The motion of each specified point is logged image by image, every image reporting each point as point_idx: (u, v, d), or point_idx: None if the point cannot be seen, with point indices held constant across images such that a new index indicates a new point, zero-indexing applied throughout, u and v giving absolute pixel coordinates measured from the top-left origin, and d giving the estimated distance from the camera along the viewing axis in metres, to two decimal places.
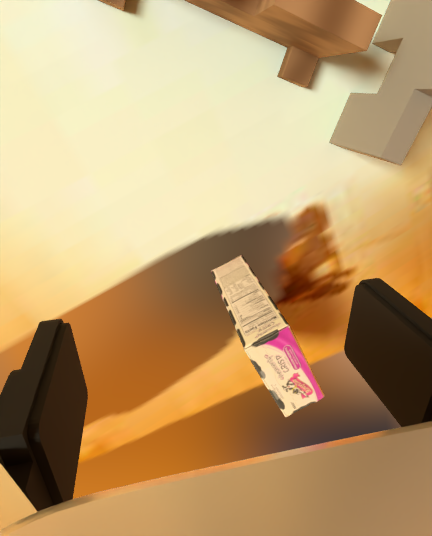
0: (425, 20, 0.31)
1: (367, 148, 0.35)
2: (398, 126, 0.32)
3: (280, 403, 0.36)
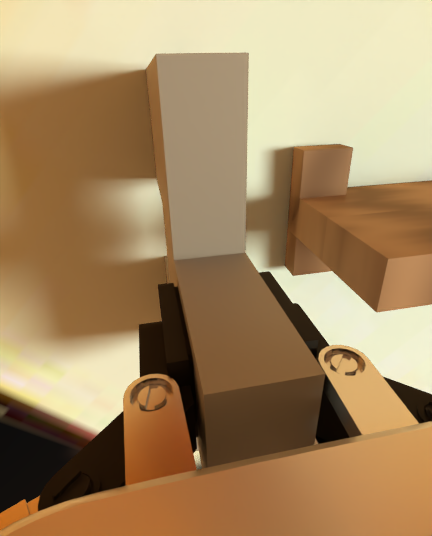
0: None
1: None
2: (239, 161, 0.11)
3: None
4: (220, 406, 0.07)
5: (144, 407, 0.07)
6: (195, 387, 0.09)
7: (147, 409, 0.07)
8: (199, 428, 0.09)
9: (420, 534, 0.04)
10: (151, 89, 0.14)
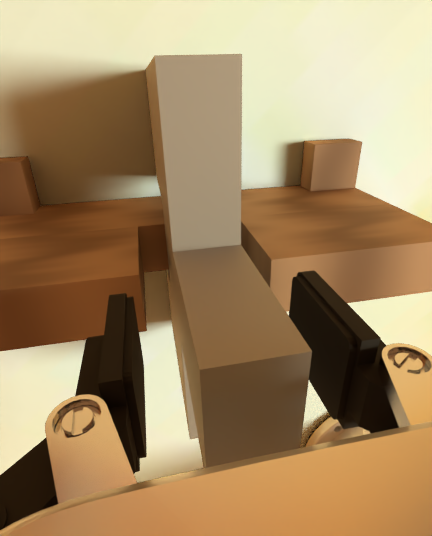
0: None
1: None
2: (233, 156, 0.12)
3: None
4: (215, 381, 0.08)
5: (70, 433, 0.07)
6: (192, 368, 0.09)
7: (74, 435, 0.07)
8: (196, 407, 0.10)
9: (420, 534, 0.04)
10: (150, 89, 0.15)
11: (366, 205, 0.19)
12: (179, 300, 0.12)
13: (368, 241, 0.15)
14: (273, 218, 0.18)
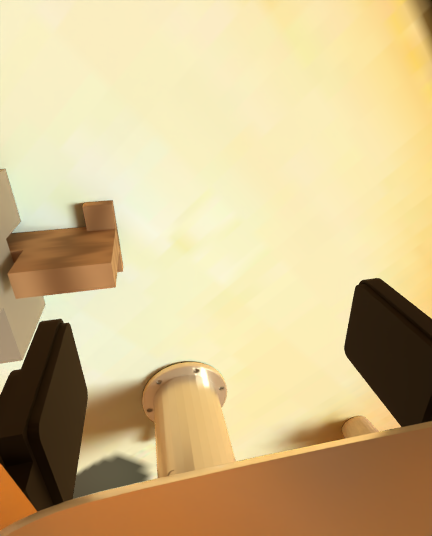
0: (18, 305, 0.35)
1: None
2: None
3: None
4: None
5: None
6: None
7: None
8: None
9: (420, 534, 0.04)
10: None
11: (99, 242, 0.35)
12: None
13: (64, 264, 0.31)
14: (40, 250, 0.34)
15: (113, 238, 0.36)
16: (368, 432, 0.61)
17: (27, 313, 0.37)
